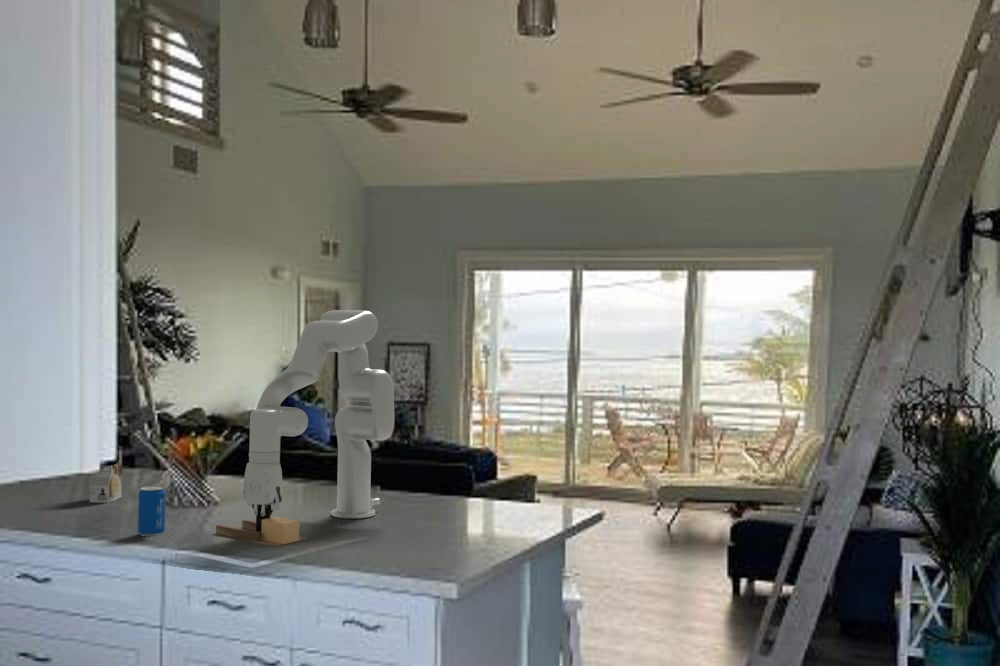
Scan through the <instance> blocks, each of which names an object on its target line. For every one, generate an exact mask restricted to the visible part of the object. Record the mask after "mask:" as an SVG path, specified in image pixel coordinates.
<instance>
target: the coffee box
mask: <svg viewBox="0 0 1000 666" xmlns="http://www.w3.org/2000/svg"><path fill="white" fill-rule="evenodd" d="M118 447H119V460H118V462H117V463H116V464H114V465H111V466H108V467H105V468H104V469H103V470H102V472H101V473H99V474H96V475H92V476H90V475H89V503H96V504H97V503H99V504H101V503H103V504H110V503H111V502H112V503H113V502H115V501H117V500H119V499H122V498H123V497H122V496H123V495H122V494H123V493H122V492H123V446H118Z"/></svg>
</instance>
